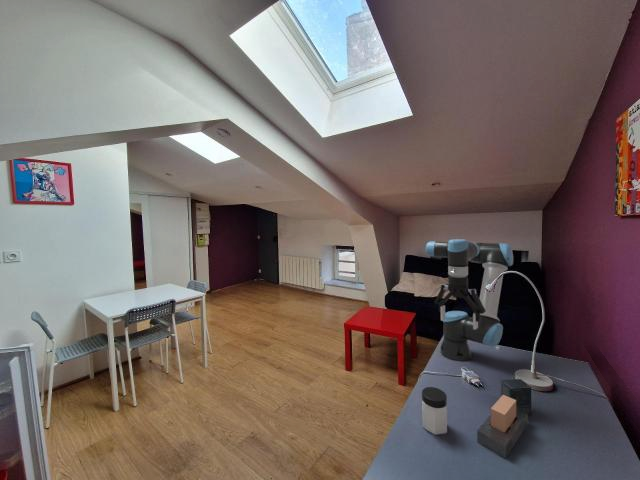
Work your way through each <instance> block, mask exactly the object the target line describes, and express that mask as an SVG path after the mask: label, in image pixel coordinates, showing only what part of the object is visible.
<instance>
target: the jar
mask: <svg viewBox="0 0 640 480" xmlns="http://www.w3.org/2000/svg"><path fill="white" fill-rule="evenodd" d="M447 398H448V396H447V394H446V392H445V391H443V390H442V389H440V388H437V387H433V386H428V387H424V388H423V389H422V390H421V400H422V403H421V415H422V428H423V429H425V430H426V431H428V432H430V433H431V434H433V435H435V436H436V435H442V434H447V433H448V420H447V418H448V410H447V409H448V405H447V404H448V401H447Z"/></svg>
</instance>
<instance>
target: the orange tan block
mask: <svg viewBox="0 0 640 480" xmlns="http://www.w3.org/2000/svg"><path fill="white" fill-rule="evenodd" d="M490 415H491V426H493V427H494V428H496V429H498V430H500V431H502V432H504V433H506V434H507V429H508V427H509V426H510V425H511V423H514V422H515V418H516V400H515V399H512V398H510V397H507V396H505V395H502V396H500V397H499V398H498V400H497V401H496V402H495V403H494V404H493V406H492V407H490Z"/></svg>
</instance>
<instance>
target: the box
mask: <svg viewBox="0 0 640 480" xmlns="http://www.w3.org/2000/svg"><path fill="white" fill-rule="evenodd" d="M500 384H501V385H500V387H501V388H500V389H501V390H500V393H501V396H502V395H505V396H507V397H510V398H512V399H515V400H516V408H518V409H521V410H523V411H525V412H528V415H532V412H533V411H532V409H533V408H532V386H530V384H528V383H527V382H525V381H524V380H523V379H521V378H515V379H514V378H513V379H501V381H500ZM501 396H500V397H501Z"/></svg>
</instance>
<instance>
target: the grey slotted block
mask: <svg viewBox="0 0 640 480" xmlns="http://www.w3.org/2000/svg"><path fill="white" fill-rule="evenodd" d="M528 424H529V414H528V412H525V411H523V410H521V409H518V408H516V418H515V422H514V423H511V425H510V426H509V427H508V429H507V434H506V433H504V432H502V431H500V430H498V429H496V428H494V427H493V426H491V414H490V415H489V416H488V417H487V418H486V419H485V421H484V422H483V423H482V425H481V426H480V427H479V428H478V429H477V431H476V432H477V434H476V435H477V437H476V438H477V439H476V440H477V443H478V444H480V445H481V446H484V447H485V448H486V449H489V450H490V451H492V452H494V453H495V454H497V455H499V456H501V457H502V458H504V459H506V458H508V455H509V454H510V452H511V451H512V450H513V448H514V446H515V444H516V443H517V441H518V440H519V438H520V437H521V435H522V434H523V432H524V430H525V429H526V428H527V426H528Z"/></svg>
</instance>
